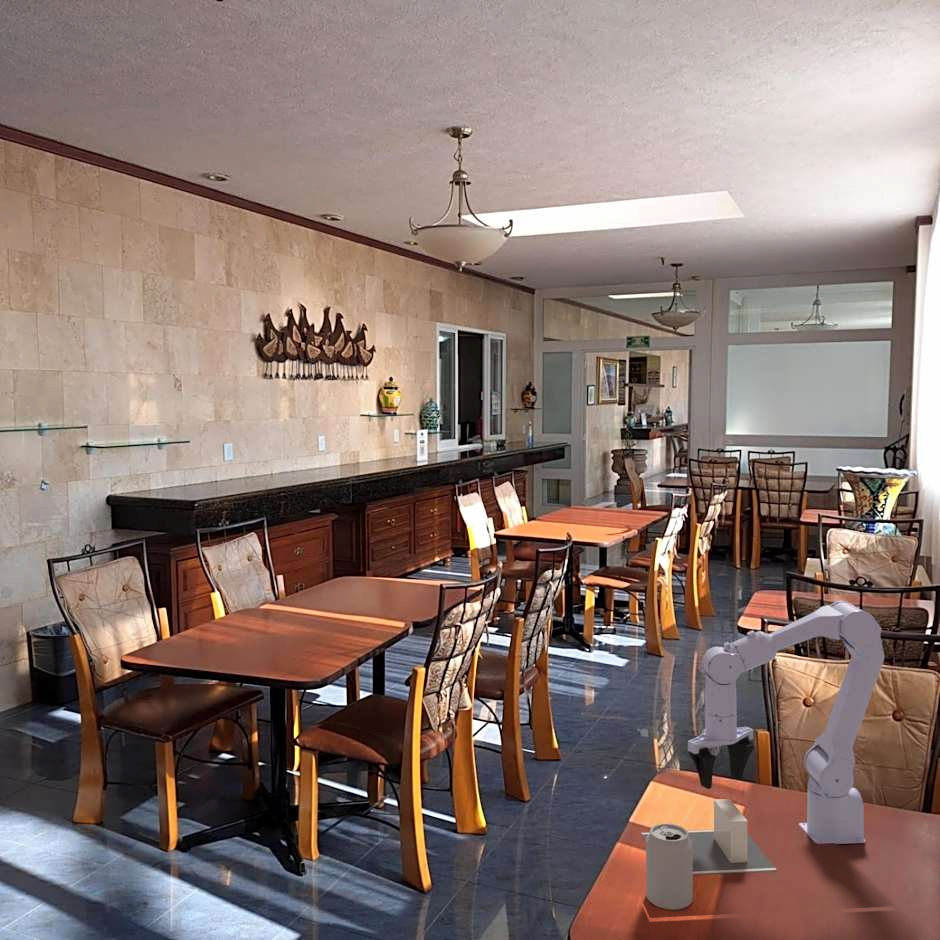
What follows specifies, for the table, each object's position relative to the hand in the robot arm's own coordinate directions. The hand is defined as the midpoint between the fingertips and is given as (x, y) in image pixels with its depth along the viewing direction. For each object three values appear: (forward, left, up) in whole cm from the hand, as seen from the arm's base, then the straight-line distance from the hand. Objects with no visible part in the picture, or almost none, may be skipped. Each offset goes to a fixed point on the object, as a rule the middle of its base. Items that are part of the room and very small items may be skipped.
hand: (721, 782), depth 169 cm
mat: (+5, +7, -10) cm, 13 cm away
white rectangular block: (+1, +7, -10) cm, 12 cm away
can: (+16, +22, -10) cm, 29 cm away
